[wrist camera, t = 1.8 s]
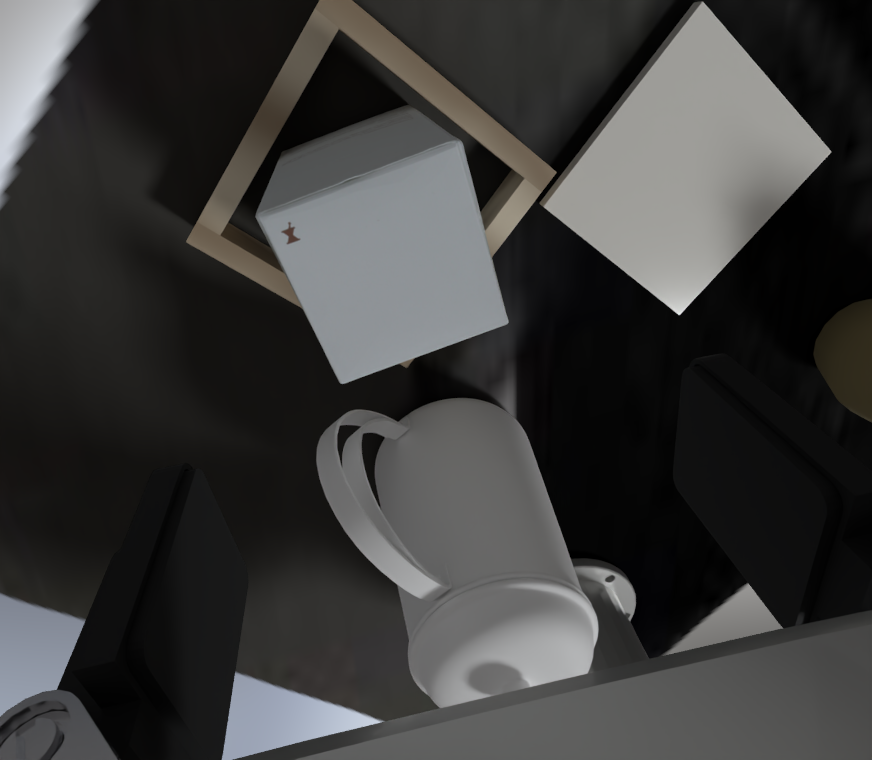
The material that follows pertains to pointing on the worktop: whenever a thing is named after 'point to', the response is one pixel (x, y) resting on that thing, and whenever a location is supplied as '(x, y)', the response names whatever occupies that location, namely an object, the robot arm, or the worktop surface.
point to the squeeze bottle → (848, 356)
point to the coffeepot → (464, 547)
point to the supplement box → (383, 241)
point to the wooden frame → (286, 90)
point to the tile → (686, 163)
